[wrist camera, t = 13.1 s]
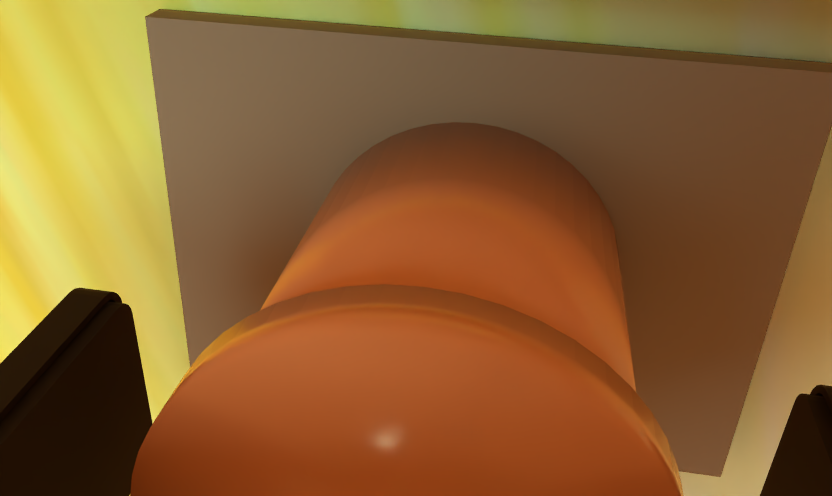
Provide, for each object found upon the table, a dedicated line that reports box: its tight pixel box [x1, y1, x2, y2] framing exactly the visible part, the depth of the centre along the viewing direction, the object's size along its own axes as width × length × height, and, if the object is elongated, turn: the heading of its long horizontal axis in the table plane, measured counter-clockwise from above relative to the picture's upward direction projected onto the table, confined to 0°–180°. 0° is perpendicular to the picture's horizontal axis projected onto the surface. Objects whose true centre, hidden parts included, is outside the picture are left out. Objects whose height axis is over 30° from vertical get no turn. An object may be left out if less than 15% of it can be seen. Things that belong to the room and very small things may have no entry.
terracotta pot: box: [130, 122, 683, 496], centre depth 13 cm, size 7×7×7 cm
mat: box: [145, 9, 832, 477], centre depth 16 cm, size 12×9×1 cm
